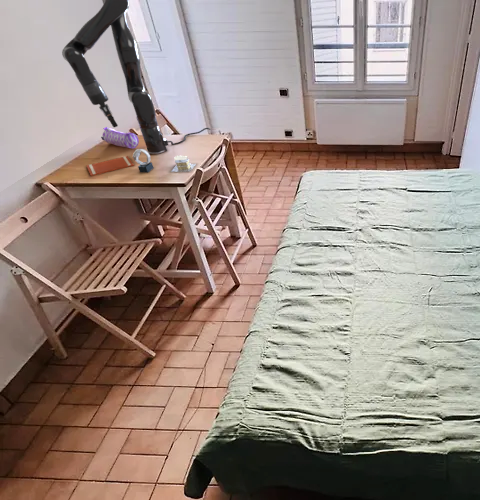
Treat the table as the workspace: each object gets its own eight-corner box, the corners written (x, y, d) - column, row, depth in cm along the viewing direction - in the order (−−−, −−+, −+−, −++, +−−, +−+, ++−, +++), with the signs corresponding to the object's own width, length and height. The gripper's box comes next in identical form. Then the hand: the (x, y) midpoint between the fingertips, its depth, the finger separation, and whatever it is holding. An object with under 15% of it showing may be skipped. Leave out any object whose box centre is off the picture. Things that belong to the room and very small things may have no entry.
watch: (142, 167, 197) (134, 147, 191) (156, 168, 197) (149, 147, 190) (136, 172, 193) (128, 151, 186) (151, 172, 192) (143, 152, 185)
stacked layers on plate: (196, 164, 200) (193, 154, 197) (190, 171, 193) (187, 161, 189) (177, 164, 200) (174, 154, 197) (170, 171, 193) (167, 161, 190)
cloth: (128, 156, 208) (127, 155, 208) (133, 165, 199) (133, 164, 199) (86, 166, 199) (86, 165, 199) (91, 176, 190) (90, 174, 190)
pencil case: (103, 145, 222) (97, 129, 216) (117, 139, 229) (111, 124, 223) (129, 151, 214) (123, 135, 208) (143, 145, 221) (137, 129, 215)
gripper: (105, 92, 178) (124, 125, 189) (101, 86, 188) (119, 118, 199) (88, 98, 176) (109, 131, 187) (85, 92, 185) (105, 123, 196)
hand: (114, 124), depth 193 cm, fingers open, 8 cm apart
